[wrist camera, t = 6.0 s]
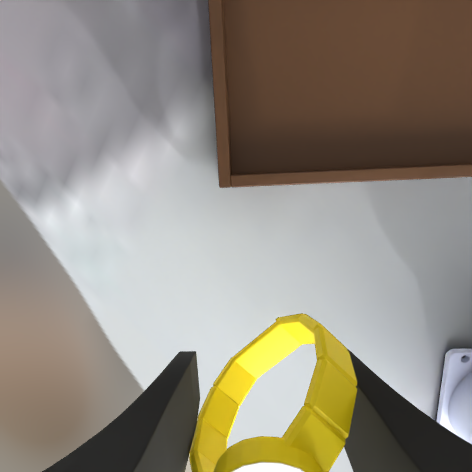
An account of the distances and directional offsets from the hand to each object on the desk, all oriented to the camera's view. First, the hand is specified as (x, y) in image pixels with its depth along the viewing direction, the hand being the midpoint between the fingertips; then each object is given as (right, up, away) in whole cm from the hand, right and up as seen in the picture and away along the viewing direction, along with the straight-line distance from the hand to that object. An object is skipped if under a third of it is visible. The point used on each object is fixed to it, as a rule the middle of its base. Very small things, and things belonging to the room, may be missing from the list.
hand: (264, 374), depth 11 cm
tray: (+7, +14, +5) cm, 16 cm away
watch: (0, 0, +2) cm, 2 cm away
